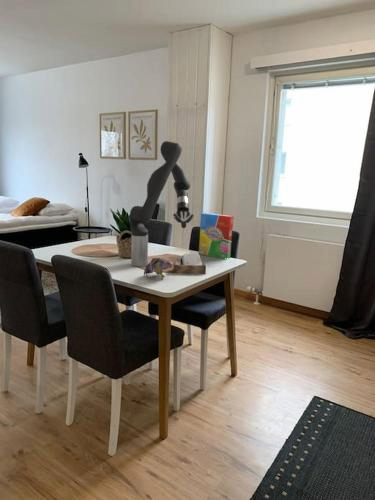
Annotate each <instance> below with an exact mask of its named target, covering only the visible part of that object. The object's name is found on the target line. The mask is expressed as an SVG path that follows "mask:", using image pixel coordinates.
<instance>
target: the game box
mask: <svg viewBox="0 0 375 500" xmlns="http://www.w3.org/2000/svg"><path fill="white" fill-rule="evenodd" d="M199 225H200V228H199V245H198V254H199V255H203V256H208V257H212V258H213V257H214V258H218V257H219V258H220V259H224V258H226V259H225V260H228V259H230V258H231V253H232V252H231V251H232V241H233V239H232V238H233V230H234V229H233V225H234V215H227V214H218V213H211V212H210V213H209V212H201V213H200V224H199ZM227 258H228V259H227Z"/></svg>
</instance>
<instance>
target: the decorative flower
mask: <svg viewBox="0 0 375 500" xmlns="http://www.w3.org/2000/svg"><path fill="white" fill-rule="evenodd" d="M169 268H173V265H172V264H171V263H170V261H168V260H166V259H165V258H159V257H158V258H157V257H153V258H151V261H150V262H148V265H146V266H145V268H144V270H143V277H145V276H146V277H148V275H150V274H153V273H155V274H156V275H157V276H160V277H161V278H160V279H161V280H164V278H165V275H163V272H164V270H167V269H168V270H169Z"/></svg>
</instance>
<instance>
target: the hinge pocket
mask: <svg viewBox="0 0 375 500" xmlns="http://www.w3.org/2000/svg"><path fill="white" fill-rule="evenodd" d="M201 262H202V265H180V264H176V261H173V262H172V263H173V264H172V271H173V274H179V275H181V274H182V275H183V274H185V275H186V274H189V275H193V274H194V275H200V274H201V275H202V274H203V275H204V274H207V265H206V263H205V262H203V261H201Z"/></svg>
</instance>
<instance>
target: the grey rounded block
mask: <svg viewBox="0 0 375 500" xmlns="http://www.w3.org/2000/svg"><path fill="white" fill-rule="evenodd" d="M178 262H179V263H178V265H202V262H203V261H202V259H201V257H200V254H199V252H198V253H197V252H189V253H185V254H183V255H182V256H180V257H179V259H178Z"/></svg>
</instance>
